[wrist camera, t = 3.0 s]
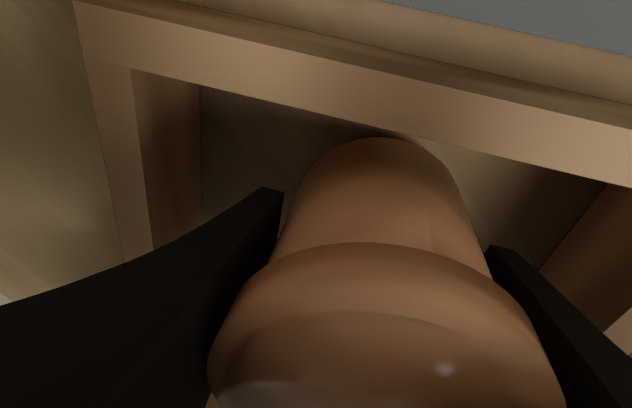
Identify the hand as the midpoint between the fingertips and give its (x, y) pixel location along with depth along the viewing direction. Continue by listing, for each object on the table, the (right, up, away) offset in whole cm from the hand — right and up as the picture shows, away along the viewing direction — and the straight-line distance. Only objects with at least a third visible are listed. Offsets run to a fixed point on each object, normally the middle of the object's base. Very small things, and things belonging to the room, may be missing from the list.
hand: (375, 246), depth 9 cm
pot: (0, +1, +1) cm, 2 cm away
